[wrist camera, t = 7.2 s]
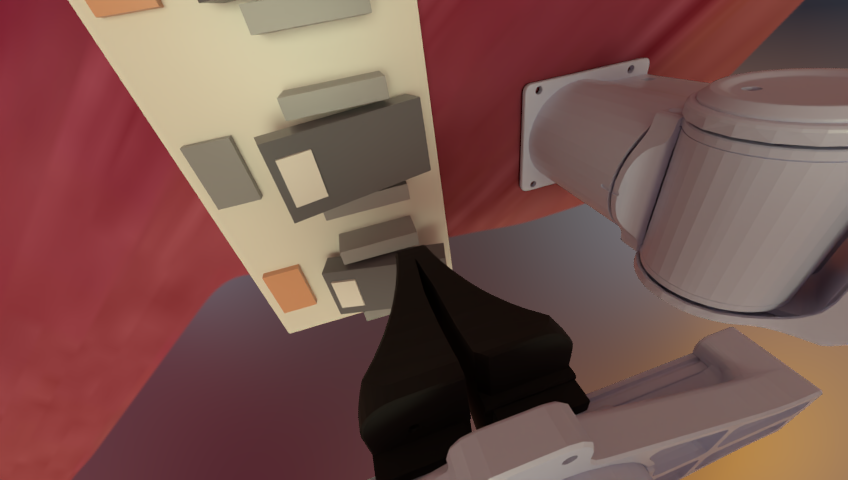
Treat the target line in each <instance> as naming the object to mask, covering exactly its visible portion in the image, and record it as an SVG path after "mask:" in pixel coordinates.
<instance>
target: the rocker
mask: <svg viewBox="0 0 848 480" xmlns="http://www.w3.org/2000/svg"><path fill="white" fill-rule="evenodd" d="M425 246H426V247H427V248H428V249H429V250H430V251H431V252H432V253H433V254H434V255H435V256H436V257H437V258H439V259H440V260H441V261H442V262H443V263H444V264H445V265H447V263H446V256H445V249H444V243H438V244H430V245H425ZM415 247H417V246H415ZM410 248H414V247H408V248H404V249H400V250H397V251H393V252H390V253H386V254H382V255H379V256H375V257H372V258H368V259H364V260H361V261H357V262H354V263H350V264H346V265H344V263H343V260H342V258H341V256H338V257H330V258H327V261H326V263H325V266H324V269H323V271H322V276H323V278H324V280H325V282H326V284H327V286H328V288H329V290H330V292H331V295H332V297H333V299H334V301H335V303H336V305H337V307H338V309H339V311H340V313H341V314H348V313H357V312H366V311H374V310H383V309H391V308H392V303H393V298H394V292H395V285H396V258H395V254H396V253H397V252H400V251H404V250H407V249H410Z"/></svg>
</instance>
